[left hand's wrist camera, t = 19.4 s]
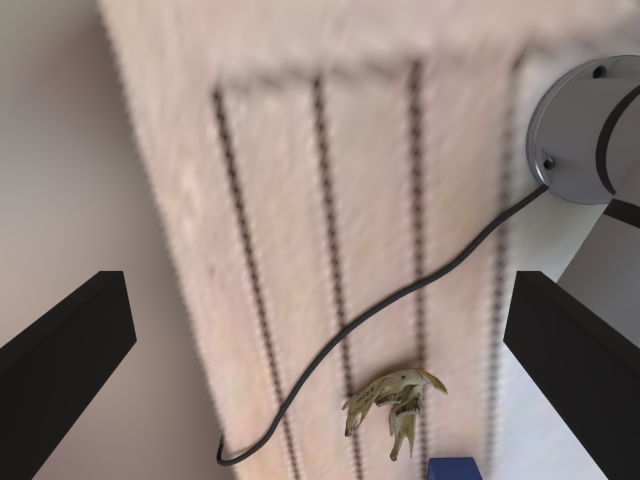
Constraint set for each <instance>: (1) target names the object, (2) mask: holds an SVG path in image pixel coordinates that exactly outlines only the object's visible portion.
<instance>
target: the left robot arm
mask: <svg viewBox="0 0 640 480" xmlns="http://www.w3.org/2000/svg"><path fill="white" fill-rule="evenodd" d="M526 149H527V159H528V163H529V166H530V169H531V171H532V173H533V175H534V177H535V178H536V180H537V181H538V182H539V184H540V185H541V186H540V187H539V188H538V189H536V190H535V191H534V192H532V193H531V194H530V195H528V196H527V197H526V198H524V199H523V200H522V201H520V202H519V203H517V204H516V205H515V206H513V207H512V208H510V209H509V210H507V211H506V212H505V213H503V214H502V215H501V216H499V217H498V218H497V219H496V220H495V221H493V222H492V223H491V224H490V225H489V226H488V227H487V228H486V229H485V230H484V231H483V232H482V233H481V234H480V235H479V236H478V237H477V238H476V239H475V240H474V241H473V242H472V243H471V244H470V246H469V247H468V248H467V249H466V250H465V251H464V252H463V253H462V254H461V255H460V256H459V257H457V258H456V259H455V260H454V261H453V262H451V263H450V264H449V265H448V266H446V267H445V268H443V269H442V270H440V271H439V272H437V273H435V274H434V275H432V276H430V277H428V278H426V279H424V280H422V281H420V282H418V283H415V284H413V285H411V286H409V287H407V288H405V289H403V290H401V291H400V292H398V293H396V294H394V295H393V296H391V297H389V298H388V299H386V300H385V301H383V302H382V303H380V304H378V305H377V306H375V307H374V308H372V309H371V310H369V311H368V312H366V313H365V314H363V315H362V316H361V317H359V318H358V319H357V320H355V321H354V322H353V323H352V324H350V325H349V326H348V327H347V328H346V329H344V330H343V331H342V332H341V333H340V334H339V335H338V336H337V337H336V338H335V339H333V340H332V341H331V342H330V343H329V344H328V345H327V347H326V348H325V349H324V350H323V351H322V352H321V353H320V354H319V356H318V357H317V358H316V359H315V360H314V362H313V363H312V364H311V365H310V367H309V368H308V369H307V370H306V372H305V373H304V374H303V376H302V377H301V379H300V380H299V381H298V383H297V385H296V386H295V388H294V389H293V391H292V392H291V394H290V396H289V397H288V399H287V400H286V402H285V404H284V405H283V407H282V408H281V410H280V411H279V413H278V415H277V416H276V418H275V420H274V422H273V424H272V426H271V428H270V430H269V431H268V433H267V434H266V436H265V437H264V438H263V439H262V440H261V441H260V442H259V443H258V444H257V445H255V446H254V447H253V448H251V449H250V450H249V451H247V452H246V453H244V454H242V455H241V456H239V457H237V458H234V459H232V460H228V461H224V460H222V459H221V454H222V450H223V446H224V441H225V432H224V427H223V428H222V433H221V438H220V444H219V447H218V451H217V456H216V459H217V463H218V464H219V465H221V466H230V465H233V464H236V463H238V462H240V461H242V460H244V459H246V458H247V457H249V456H250V455H252V454H253V453H255V452H256V451H257V450H258V449H260V448H261V447H262V446H263V445H264V444H265V443H266V442H267V441H268V440H269V439H270V437H271V436H272V434H273V433H274V431H275V429H276V427H277V425H278V423H279V421H280V420H281V418H282V416H283V414H284V413H285V411H286V410H287V408H288V407H289V405H290V404H291V402H292V401H293V399H294V397H295V396H296V394H297V393H298V391H299V390H300V388H301V387H302V385H303V384H304V382H305V381H306V379H307V378H308V377H309V375H310V374H311V373H312V372H313V370H314V369H315V368H316V367H317V365H318V364H319V363H320V362H321V361H322V359H323V358H324V357H325V356H326V355H327V354H328V353H329V352H330V350H331V349H332V348H333V347H334V346H335V345H336V344H337V343H339V342H340V341H341V340H342V339H343V338H344V337H345V336H346V335H347V334H349V333H350V332H351V331H352V330H353V329H355V328H356V327H357V326H358V325H360V324H361V323H362V322H364V321H365V320H366V319H368V318H369V317H371V316H372V315H374V314H375V313H377V312H378V311H380V310H381V309H383V308H385V307H386V306H388V305H389V304H391V303H393V302H394V301H396V300H398V299H399V298H401V297H403V296H405V295H407V294H409V293H411V292H413V291H415V290H417V289H419V288H421V287H423V286H425V285H427V284H429V283H431V282H433V281H435V280H437V279H439V278H440V277H442V276H444V275H445V274H447V273H448V272H450V271H451V270H452V269H454V268H455V267H456V266H458V265H459V264H460V263H461V262H462V261H463V260H465V259H466V258H467V257H468V256H469V255H470V254H471V253H472V252H473V251H474V250H475V248H476V247H477V246H478V245H479V244H480V243H481V242H482V241H483V240H484V239H485V238H486V237H487V236H488V235H489V234H490V233H491V232H492V231H493V230H494V229H495V228H496V227H497V226H499V225H500V224H501V223H502V222H503V221H505V220H506V219H507V218H509V217H510V216H512V215H513V214H515V213H516V212H517V211H519V210H520V209H522V208H523V207H525V206H526V205H527V204H529V203H530V202H531V201H533V200H534V199H536V198H537V197H538V196H540V195H541V194H542V193H544V192H545V191H546V190H547V191H548V192H550V193H552V194H553V195H555V196H558V197H560V198H562V199H565V200H567V201H570V202H573V203H578V204H586V205H595V204H608V206H607V208H606V209H605V211H604V212H603V213H602V214H601V216H600V218H599V219H598V221H597V222H596V224H595V225H594V227H593V228H592V230H591V232H590V233H589V235H588V236H587V238H586V239H585V241H584V242H583V244H582V245H581V247H580V249H579V250H578V252H577V253H576V255H575V256H574V258H573V259H572V261H571V262H570V264H569V265H568V267H567V268H566V269H565V271H564V272H563V274H562V275H561V277H560V278H559V280H558V281H557V283H555V282H554V281H552V280H551V279H550V278H548V277H547V276H546V275H545V274H543V273H542V272H541V271H517V274H516V279H515V284H514V289H513V294H512V299H511V304H510V309H509V314H508V319H507V324H506V329H505V334H504V339H503V341H504V343H505V344H506V345H507V347H508V348H509V349H510V351H511V352H512V353H513V355H514V356H515V357H516V359H517V360H518V361H519V363H520V364H521V365H522V366H523V368H524V369H525V370H526V372H527V373H528V374H529V376H530V377H531V378H532V380H533V381H534V382H535V384H536V385H537V386H538V388H539V389H540V390H541V391H542V393H543V394H544V395H545V397H546V398H547V399H548V401H549V402H550V403H551V405H552V406H553V407H554V409H555V410H556V411H557V413H558V414H559V415H560V416H561V418H562V419H563V420H564V422H565V423H566V424H567V426H568V427H569V428H570V430H571V431H572V432H573V434H574V435H575V436H576V438H577V439H578V440H579V441H580V443H581V444H582V445H583V447H584V448H585V449H586V451H587V452H588V453H589V455H590V456H591V457H592V459H593V460H594V461H595V463H596V464H597V465H598V467H599V468H600V469H601V470H602V472H603V473H604V474H605V476H606V477H607V478H608V480H640V56H635V55H622V56H614V57H607V58H601V59H597V60H594V61H590V62H588V63H585V64H583V65H581V66H579V67H577V68H575V69H574V70H572V71H570V72H569V73H567V74H566V75H565V76H564V77H562V78H561V79H560V80H559V81H558V82H557V83H555V84H554V85H553V87H552V88H551V89H550V90H549V91H548V92H547V93H546V95H545V96H544V97H543V99H542V100H541V102H540V103H539V105H538V107H537V109H536V111H535V113H534V115H533V117H532V120H531V123H530V126H529V130H528V135H527V144H526ZM136 341H137V339H136V334H135V329H134V324H133V319H132V314H131V309H130V304H129V299H128V294H127V289H126V284H125V279H124V274H123V271H99V272H98V273H97V274H95V275H94V276H93V277H92V278H90V279H89V280H88V281H86V282H85V283H84V284H83V285H81V286H80V287H79V288H77V289H76V290H75V291H74V292H72V293H71V294H70V295H68V296H67V297H66V298H65V299H63V300H62V301H61V302H59V303H58V304H57V305H56V306H54V307H53V308H52V309H50V310H49V311H48V312H47V313H45V314H44V315H43V316H41V317H40V318H39V319H38V320H36V321H35V322H34V323H32V324H31V325H30V326H29V327H27V328H26V329H25V330H23V331H22V332H21V333H20V334H18V335H17V336H16V337H14V338H13V339H12V340H11V341H9V342H8V343H7V344H5V345H4V346H3V347H2V348H0V480H32V478H33V477H34V476H35V474H36V473H37V472H38V470H39V469H40V468H41V467H42V465H43V464H44V463H45V461H46V460H47V459H48V457H49V456H50V455H51V453H52V452H53V451H54V449H55V448H56V447H57V445H58V444H59V443H60V441H61V440H62V439H63V438H64V436H65V435H66V434H67V432H68V431H69V430H70V428H71V427H72V426H73V424H74V423H75V422H76V420H77V419H78V418H79V416H80V415H81V414H82V413H83V411H84V410H85V409H86V407H87V406H88V405H89V403H90V402H91V401H92V399H93V398H94V397H95V395H96V394H97V393H98V391H99V390H100V389H101V388H102V386H103V385H104V384H105V382H106V381H107V380H108V378H109V377H110V376H111V374H112V373H113V372H114V370H115V369H116V368H117V366H118V365H119V364H120V362H121V361H122V360H123V358H124V357H125V356H126V355H127V353H128V352H129V351H130V349H131V348H132V347H133V345H134V344H135V343H136Z"/></svg>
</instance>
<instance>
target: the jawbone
mask: <svg viewBox="0 0 640 480" xmlns="http://www.w3.org/2000/svg"><path fill="white" fill-rule="evenodd" d="M429 385H432V386H434V387H435V388H436V389H437V390H439V391H441V392H442V393H444V394H445V395H448V393H447V389H446V388H445V386H444V385H443V384H442V383H441V382H440V380H439V379H437V378H436V377H435V376H433V375H431V374H430V373H428V372H425V371H422V370H419V369H405V370H400V371H396V372H393V373H390V374H388V375H386V376H383V377H380V378H378V379H376V380H375V381H374V382H372V383H371V384H370V385H369V386H368V387H367V388H366V389H365V390H364V391H363V392H361V393H360V394H358V395H357V396H355V397H354V398H353V399H351V400H350V401H348V402H346V403H345V405H344V406H343V408H342V410H344V409H345V408H346V407H347V406H348V405H350V407H349V412H348V418H347V421H346V430H345V436H346V437H350V436H351V435H352V434H351V431H352V429H353V425H354V422H355V420H356V418H357V417H358V415H359V414H360V412H361V413H362V415H361V420H360V423H359V424H358V426H357V428H358V427H359V425H360V424H361V423H362V421H363V420H364V418H365V416H366V415H367V413H368V411H369V409H370V407H371V405H372V404H373V402H374V403H375V404H376V405H377V406H378V407H380V406H383V405H387V404H394V403H395V405H394V407H393V409H392V410H391V412H390V416H389V424H390V435H391V436H392V435H393V434H394V432H395V445H394V448H393V450H392V452H391V454H390V458H391V460H392V461H396V460H397V455H398V452H399V450H400V447H401V444H402V442H403V439H404V438H405V437H406V436H407V438H408V439H409V443H410V454H411V457H412V452H413V446H414V440H415V421H416V414H420V406H421V403H422V397H423V391H422V389H423V387H424V386H429ZM357 428H356V429H357ZM411 457H410V458H411Z"/></svg>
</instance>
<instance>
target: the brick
mask: <svg viewBox="0 0 640 480" xmlns="http://www.w3.org/2000/svg"><path fill="white" fill-rule="evenodd" d="M427 480H483V479H482V477H481V475H480V472H479V470H478V468H477V465H476V463H475V461H474V458H437V459H429V467H428V476H427Z"/></svg>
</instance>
